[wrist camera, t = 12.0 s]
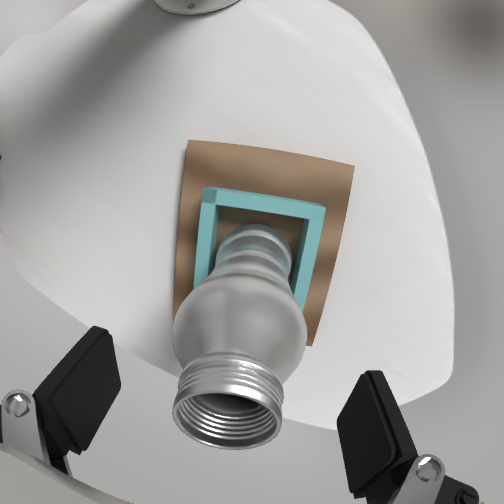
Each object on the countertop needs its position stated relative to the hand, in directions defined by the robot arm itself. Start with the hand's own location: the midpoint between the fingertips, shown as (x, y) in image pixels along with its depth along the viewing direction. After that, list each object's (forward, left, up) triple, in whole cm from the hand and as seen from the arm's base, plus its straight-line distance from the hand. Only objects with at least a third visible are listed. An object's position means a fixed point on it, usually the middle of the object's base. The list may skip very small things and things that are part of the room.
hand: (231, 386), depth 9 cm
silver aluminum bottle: (0, 0, -19) cm, 19 cm away
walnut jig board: (0, 0, -20) cm, 20 cm away
